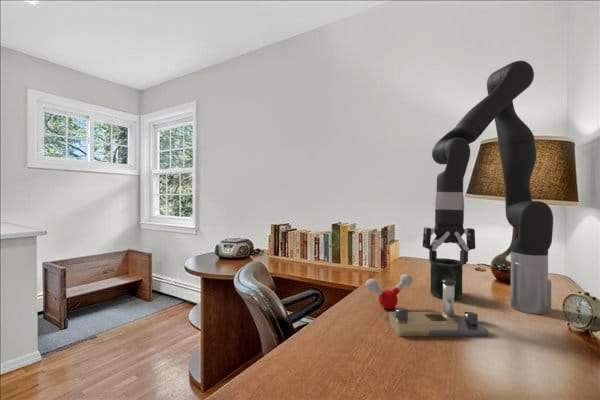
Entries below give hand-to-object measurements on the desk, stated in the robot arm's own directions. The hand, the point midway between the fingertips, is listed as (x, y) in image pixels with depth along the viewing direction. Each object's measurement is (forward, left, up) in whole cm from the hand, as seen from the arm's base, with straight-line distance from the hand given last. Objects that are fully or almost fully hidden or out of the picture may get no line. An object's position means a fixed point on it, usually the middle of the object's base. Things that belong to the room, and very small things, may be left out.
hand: (448, 263), depth 90 cm
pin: (0, 0, -15) cm, 15 cm away
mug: (-9, -19, -15) cm, 26 cm away
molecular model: (+16, -5, -15) cm, 22 cm away
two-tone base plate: (+8, +10, -15) cm, 20 cm away
